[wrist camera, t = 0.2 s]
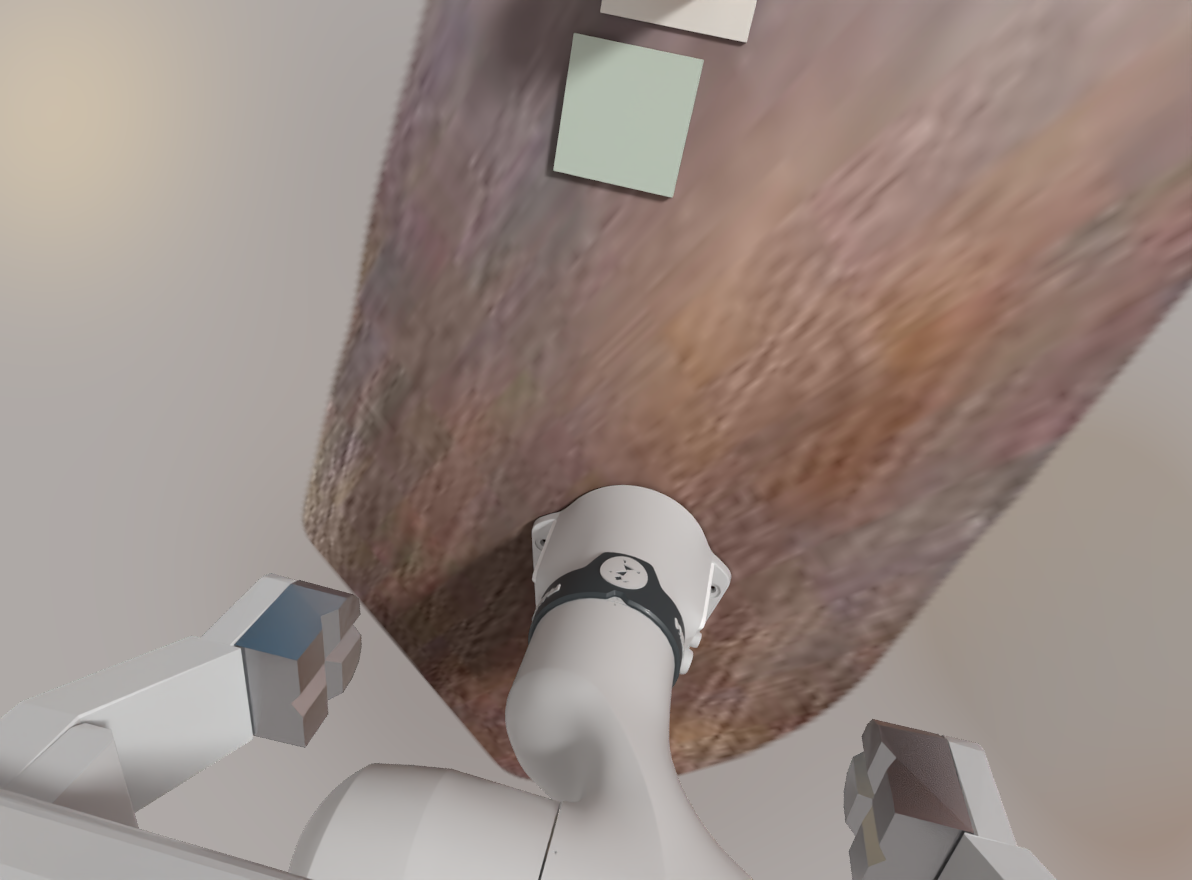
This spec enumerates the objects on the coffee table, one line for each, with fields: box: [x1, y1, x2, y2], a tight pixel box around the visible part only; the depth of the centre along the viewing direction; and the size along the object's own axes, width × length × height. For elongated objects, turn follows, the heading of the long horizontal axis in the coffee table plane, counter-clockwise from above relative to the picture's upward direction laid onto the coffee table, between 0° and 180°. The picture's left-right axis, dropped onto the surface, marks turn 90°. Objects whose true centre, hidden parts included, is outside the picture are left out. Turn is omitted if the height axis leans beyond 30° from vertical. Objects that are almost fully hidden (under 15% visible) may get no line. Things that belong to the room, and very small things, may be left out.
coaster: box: [553, 33, 704, 198], centre depth 51 cm, size 9×9×1 cm
